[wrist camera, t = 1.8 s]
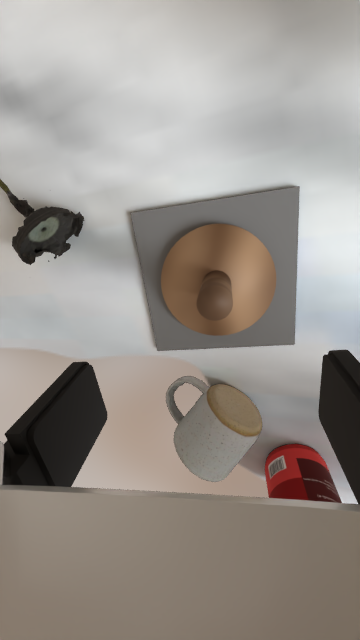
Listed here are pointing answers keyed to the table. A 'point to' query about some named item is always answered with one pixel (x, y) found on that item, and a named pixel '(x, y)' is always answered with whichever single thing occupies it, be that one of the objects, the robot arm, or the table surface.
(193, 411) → the ceramic mug
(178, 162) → the table surface
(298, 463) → the canned food
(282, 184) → the table surface
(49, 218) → the artificial flower
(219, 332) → the lid
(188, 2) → the table surface
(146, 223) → the mat
